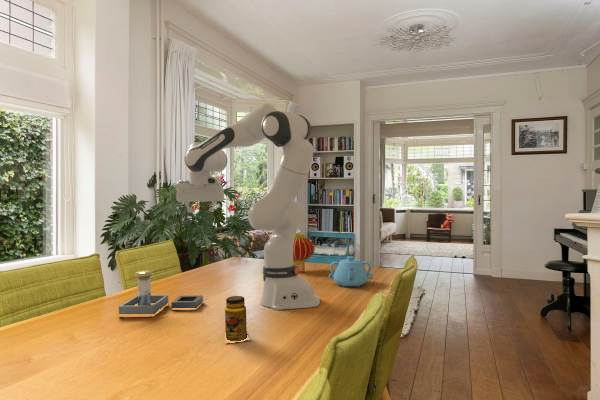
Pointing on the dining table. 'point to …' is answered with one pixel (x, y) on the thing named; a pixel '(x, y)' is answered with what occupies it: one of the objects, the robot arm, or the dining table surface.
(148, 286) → the glass jar
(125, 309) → the tray
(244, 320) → the condiment
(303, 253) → the lantern
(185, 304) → the blue-grey square holder
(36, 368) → the dining table surface
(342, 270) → the blue handled pot
